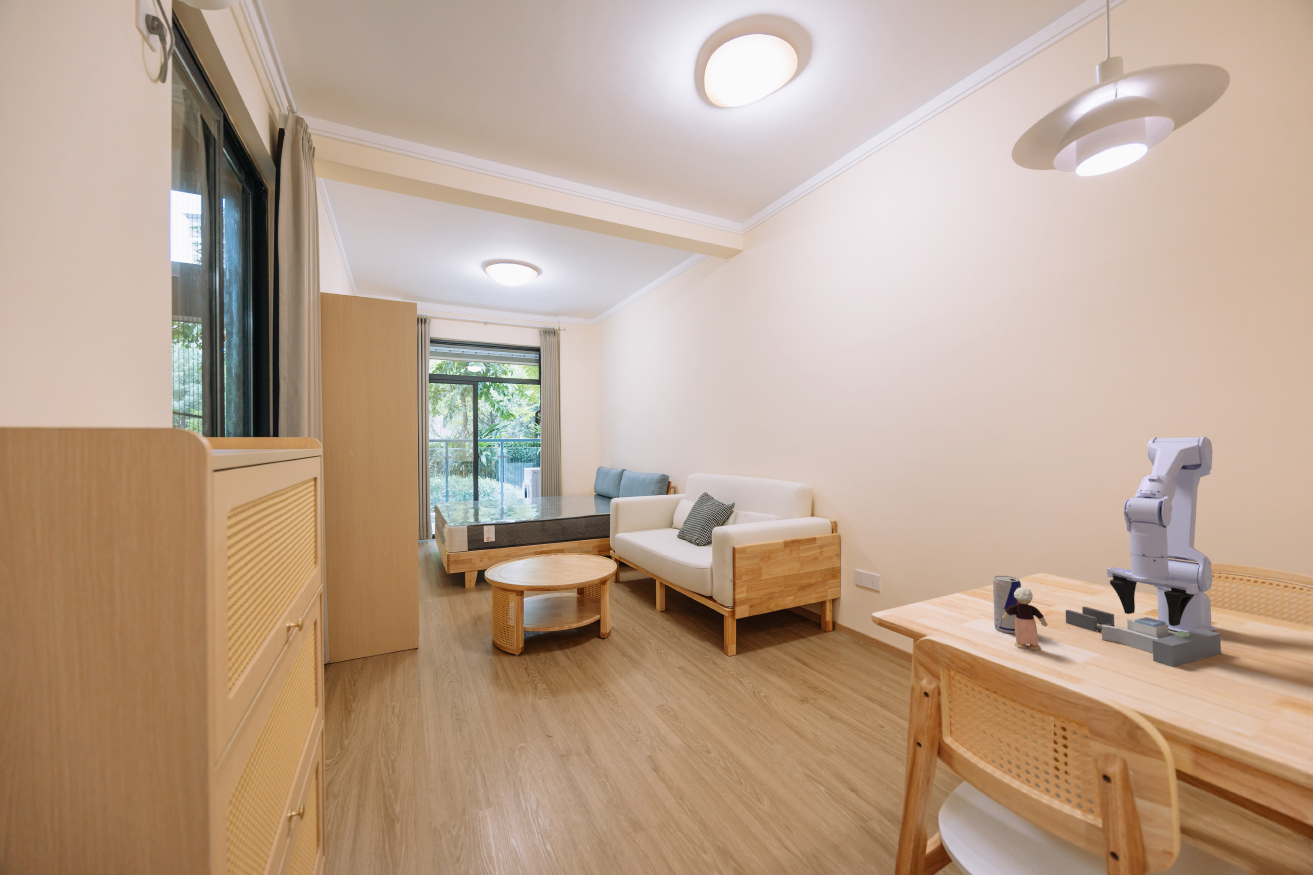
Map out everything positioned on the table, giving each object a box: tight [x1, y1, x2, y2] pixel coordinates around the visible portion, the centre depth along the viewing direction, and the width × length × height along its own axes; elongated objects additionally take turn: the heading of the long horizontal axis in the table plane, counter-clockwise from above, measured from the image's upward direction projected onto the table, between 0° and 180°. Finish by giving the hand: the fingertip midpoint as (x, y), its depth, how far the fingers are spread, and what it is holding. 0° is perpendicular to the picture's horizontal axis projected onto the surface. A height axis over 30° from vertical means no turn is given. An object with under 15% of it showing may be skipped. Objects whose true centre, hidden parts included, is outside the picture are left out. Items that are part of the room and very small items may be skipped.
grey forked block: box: [1101, 618, 1222, 668], centre depth 107 cm, size 16×14×5 cm
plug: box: [1133, 616, 1169, 639], centre depth 107 cm, size 4×4×6 cm
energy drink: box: [992, 575, 1022, 635], centre depth 118 cm, size 5×5×12 cm
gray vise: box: [1065, 606, 1115, 632], centre depth 121 cm, size 13×7×3 cm, turn 109°
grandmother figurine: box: [1002, 586, 1049, 652], centre depth 109 cm, size 8×4×13 cm, turn 71°
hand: (1151, 618), depth 107 cm, fingers open, 7 cm apart
